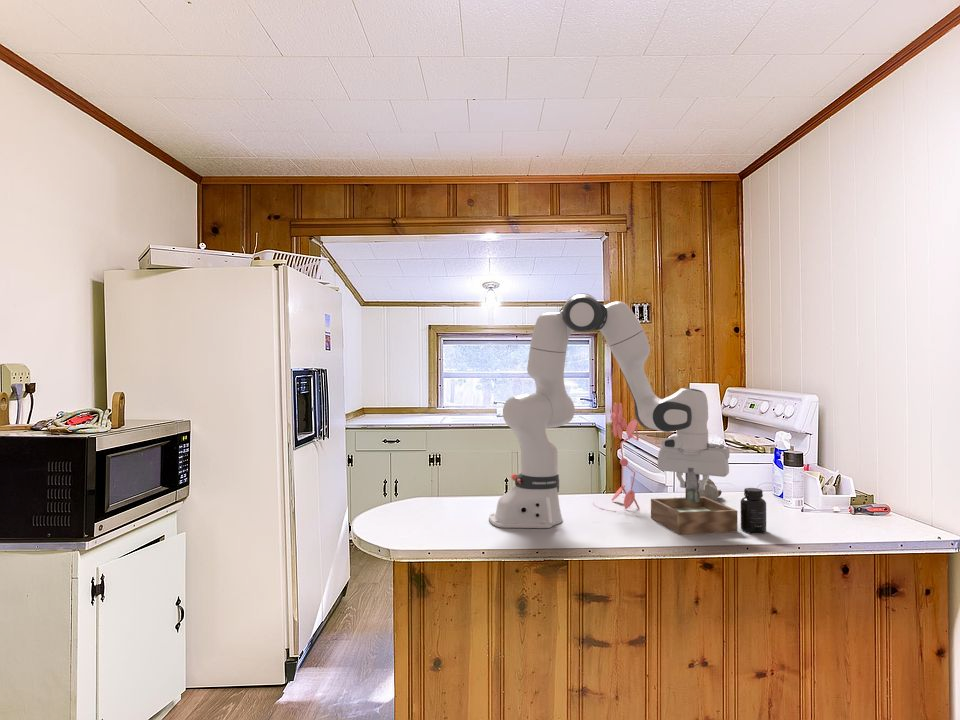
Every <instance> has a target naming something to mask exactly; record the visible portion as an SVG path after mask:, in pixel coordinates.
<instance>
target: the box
mask: <svg viewBox="0 0 960 720" xmlns="http://www.w3.org/2000/svg"><path fill="white" fill-rule="evenodd" d="M650 518H651V519H652V520H653V521H655V522H657V523H659V524H661V525H662V526H664V527H666V528H667V529H669V530H670V531H673V532H674V533H676V534H677V535H694V534H695V535H696V534H713V533H714V532H719V533H731V532H730V531H737V532H738V510H737V509H734V508H732V507H730V506H727V505H725V504H722V503H720V502H718V501H717V500H716V501H713V500H711V499H709V498H706V497H700V501H699V502H688V501H686V500H685V496H684V497H666V498H665V497H664V498H663V497H662V498H661V497H660V498H658V497H657V498H650ZM714 534H715V533H714Z"/></svg>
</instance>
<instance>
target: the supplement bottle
mask: <svg viewBox="0 0 960 720" xmlns="http://www.w3.org/2000/svg"><path fill="white" fill-rule="evenodd" d="M763 492H764V491H763V489H761V488H757V487H746V488H745V487H744V491H743V495H744V497H743V498H741V499H740V530H741V531H742V530H743V531H742V532H744V531H745V532H744V533H747V532H750V533H749V534H752V533H762V534H765V533H766V532H767V501H766V500H765V499H763V497H764V494H763Z"/></svg>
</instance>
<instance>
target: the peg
mask: <svg viewBox="0 0 960 720" xmlns="http://www.w3.org/2000/svg"><path fill="white" fill-rule="evenodd" d="M684 474H685V479H684V481H685V488H684V490H685V491H684V492H685V496H684V497H685V500H686V501H688V502H699V501H700V490H699V483H700V480H701V479H700V477H701V475H700V474H695V473H694V468H688V472H687V473H684Z"/></svg>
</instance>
